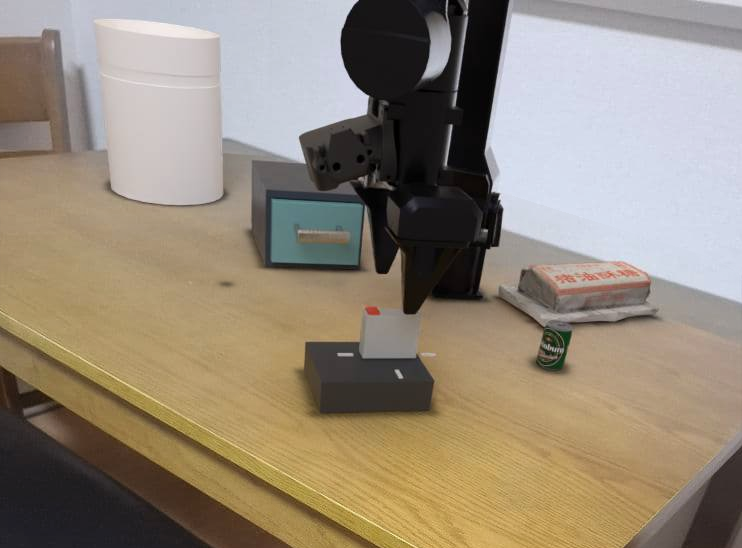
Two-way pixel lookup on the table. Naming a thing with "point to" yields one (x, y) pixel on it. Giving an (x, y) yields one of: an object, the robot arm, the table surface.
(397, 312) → the dial
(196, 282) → the table surface
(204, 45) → the canister
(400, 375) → the dial panel
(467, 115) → the robot arm
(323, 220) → the drawer
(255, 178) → the cabinet
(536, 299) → the packaged product
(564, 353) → the beer can
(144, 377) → the table surface
